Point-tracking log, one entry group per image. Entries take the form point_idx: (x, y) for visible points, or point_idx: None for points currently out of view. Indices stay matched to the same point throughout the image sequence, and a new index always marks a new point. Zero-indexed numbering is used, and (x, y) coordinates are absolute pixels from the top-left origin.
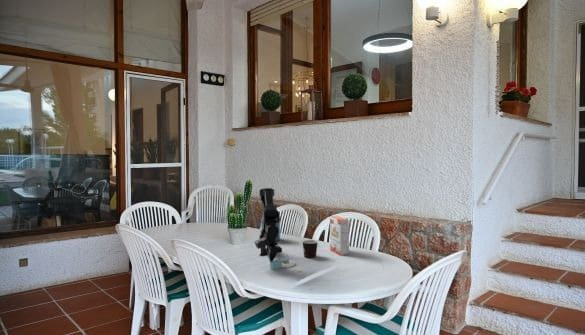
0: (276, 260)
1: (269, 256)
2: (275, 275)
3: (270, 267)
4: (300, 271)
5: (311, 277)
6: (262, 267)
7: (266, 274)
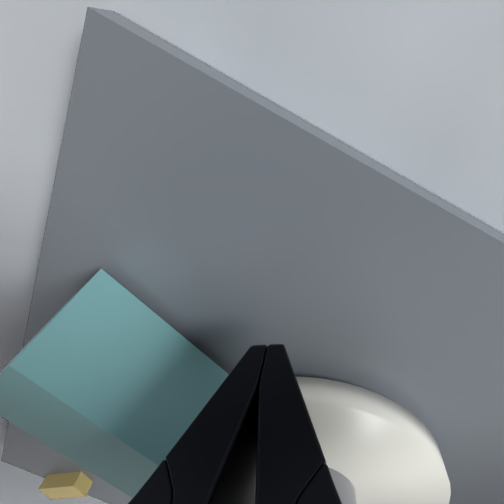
0: (129, 468)
1: (178, 475)
2: (8, 281)
3: (80, 289)
4: (48, 489)
5: (19, 487)
6: (421, 154)
7: (26, 177)
